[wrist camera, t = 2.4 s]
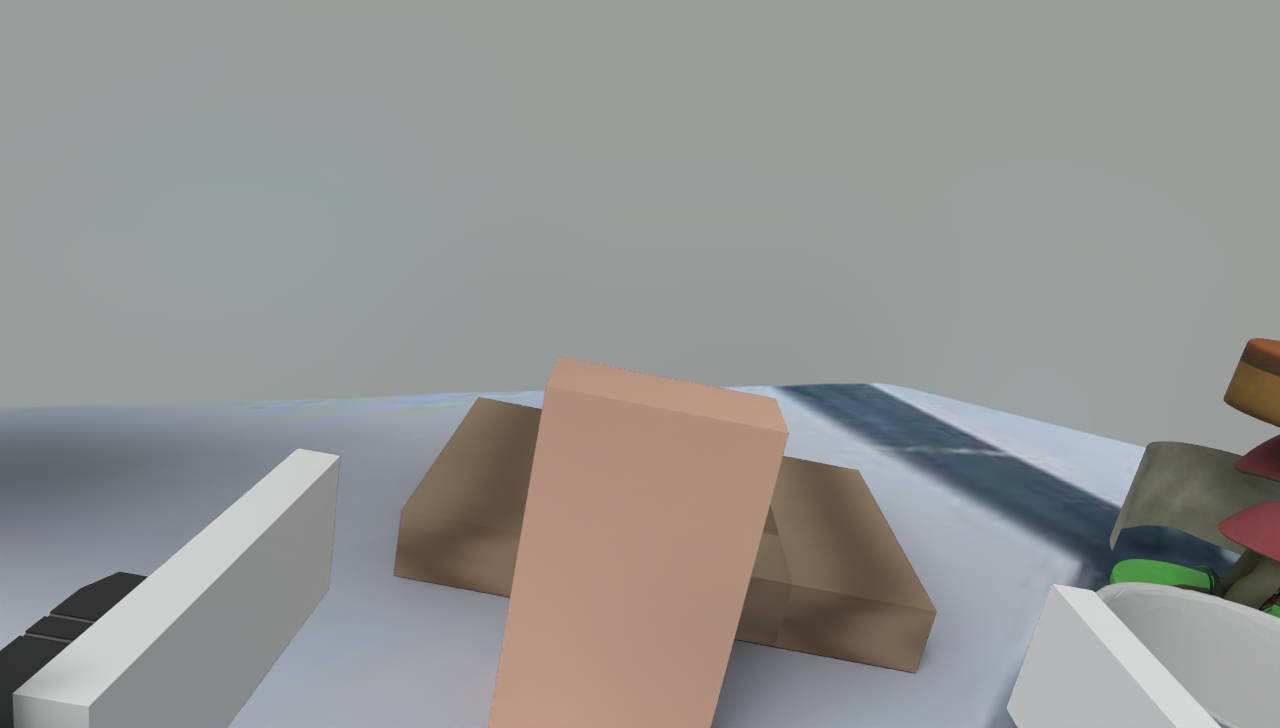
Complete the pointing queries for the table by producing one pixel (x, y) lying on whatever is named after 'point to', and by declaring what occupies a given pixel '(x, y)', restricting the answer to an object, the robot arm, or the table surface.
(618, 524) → the salmon rectangular block
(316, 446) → the table surface
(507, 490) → the slotted rack
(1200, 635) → the teacup
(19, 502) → the table surface
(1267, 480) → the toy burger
